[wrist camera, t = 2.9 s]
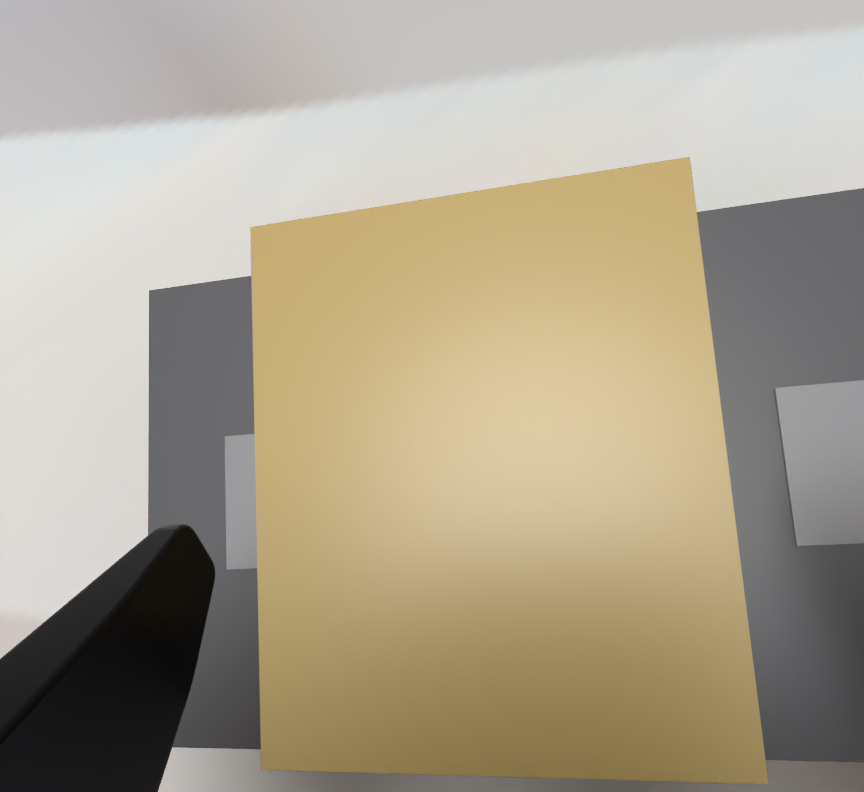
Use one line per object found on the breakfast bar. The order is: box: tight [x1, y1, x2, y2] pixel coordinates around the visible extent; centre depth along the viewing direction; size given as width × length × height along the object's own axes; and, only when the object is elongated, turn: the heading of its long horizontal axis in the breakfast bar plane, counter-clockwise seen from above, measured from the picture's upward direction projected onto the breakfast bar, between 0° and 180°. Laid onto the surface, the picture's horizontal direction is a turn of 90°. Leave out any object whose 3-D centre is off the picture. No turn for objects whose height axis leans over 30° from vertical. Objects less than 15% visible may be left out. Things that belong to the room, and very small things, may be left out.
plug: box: [250, 157, 768, 784], centre depth 10 cm, size 4×4×10 cm
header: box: [148, 188, 864, 762], centre depth 14 cm, size 10×20×5 cm, turn 93°
